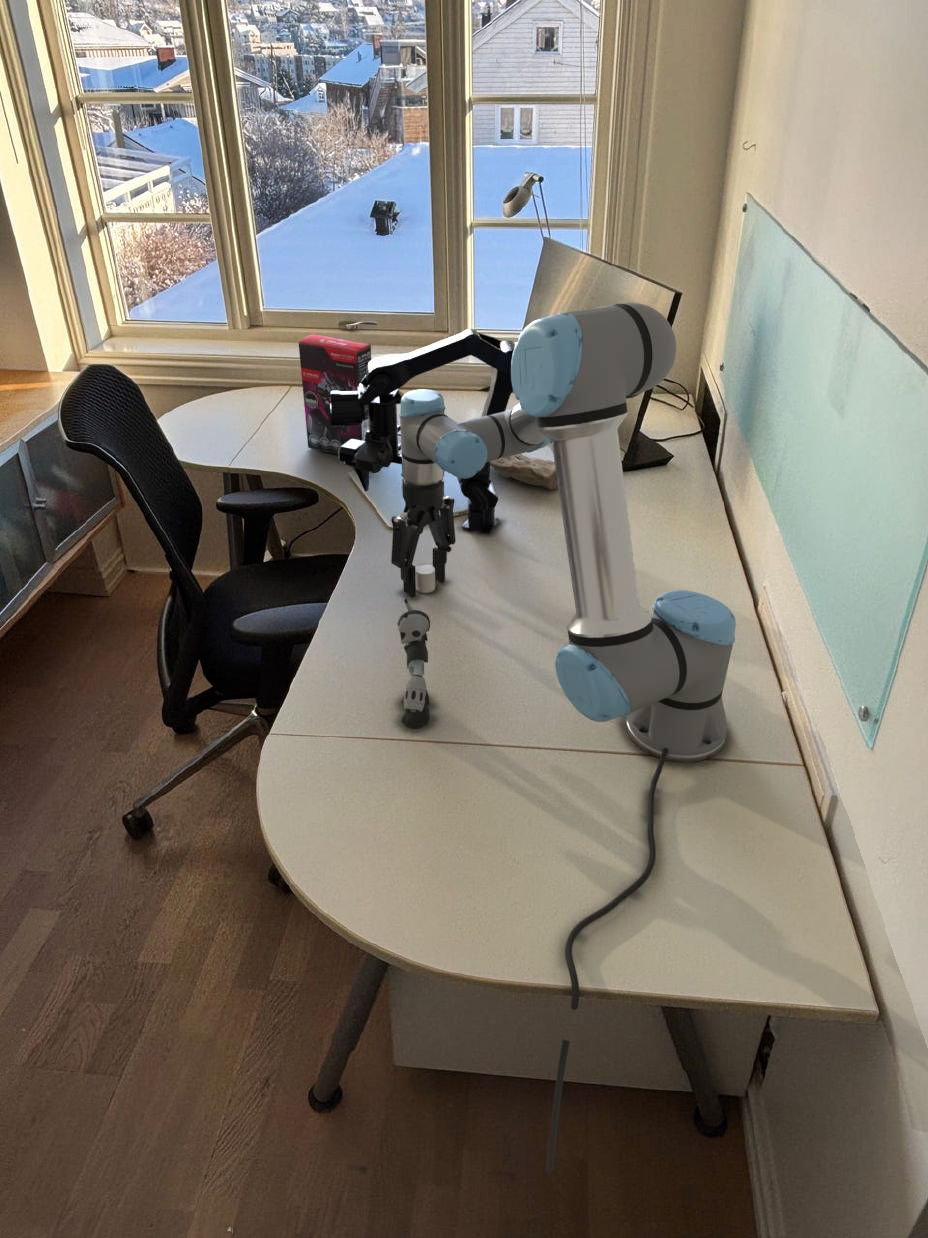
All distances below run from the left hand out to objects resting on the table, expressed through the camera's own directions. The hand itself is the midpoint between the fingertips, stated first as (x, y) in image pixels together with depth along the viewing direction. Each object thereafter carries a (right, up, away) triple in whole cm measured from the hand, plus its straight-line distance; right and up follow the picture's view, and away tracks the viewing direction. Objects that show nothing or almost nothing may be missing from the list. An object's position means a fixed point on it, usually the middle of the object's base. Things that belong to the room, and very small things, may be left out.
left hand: (386, 494), depth 192 cm
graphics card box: (-14, +16, +39) cm, 44 cm away
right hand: (+9, -20, -15) cm, 26 cm away
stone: (+29, +8, +27) cm, 40 cm away
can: (+9, -20, -15) cm, 26 cm away
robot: (+9, -41, -46) cm, 62 cm away
